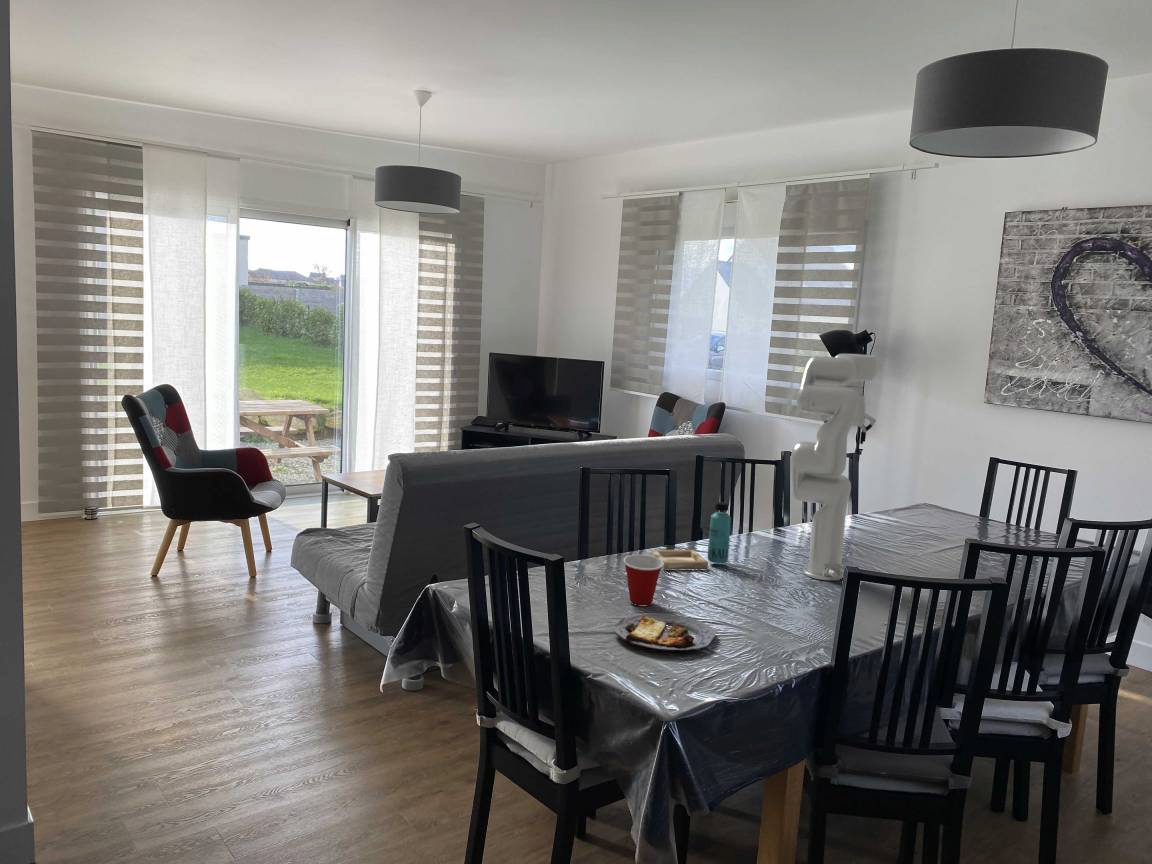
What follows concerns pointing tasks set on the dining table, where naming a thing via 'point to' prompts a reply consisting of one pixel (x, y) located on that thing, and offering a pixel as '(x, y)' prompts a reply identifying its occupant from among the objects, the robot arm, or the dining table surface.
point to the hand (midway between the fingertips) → (846, 442)
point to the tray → (680, 559)
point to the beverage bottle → (719, 534)
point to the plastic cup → (642, 577)
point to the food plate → (652, 635)
